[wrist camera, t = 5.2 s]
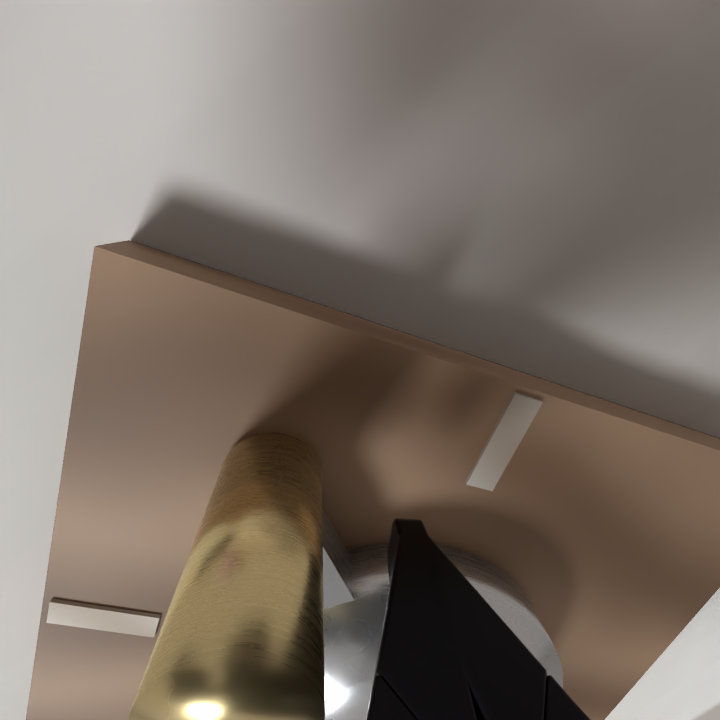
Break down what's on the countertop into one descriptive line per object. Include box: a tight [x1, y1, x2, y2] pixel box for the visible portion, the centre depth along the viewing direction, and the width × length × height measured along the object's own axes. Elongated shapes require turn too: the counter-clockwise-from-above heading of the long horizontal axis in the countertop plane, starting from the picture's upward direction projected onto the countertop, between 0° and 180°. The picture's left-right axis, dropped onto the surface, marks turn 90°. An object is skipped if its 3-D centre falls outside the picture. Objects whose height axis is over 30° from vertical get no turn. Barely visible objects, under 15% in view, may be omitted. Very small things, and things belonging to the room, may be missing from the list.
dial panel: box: [26, 241, 720, 720], centre depth 13 cm, size 20×20×2 cm
